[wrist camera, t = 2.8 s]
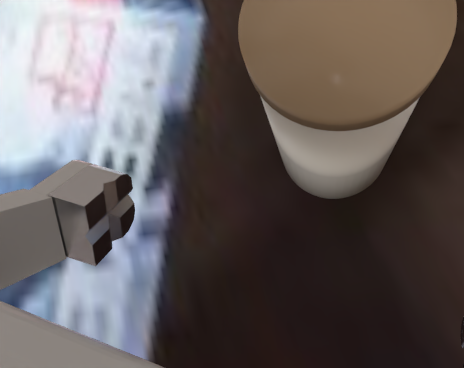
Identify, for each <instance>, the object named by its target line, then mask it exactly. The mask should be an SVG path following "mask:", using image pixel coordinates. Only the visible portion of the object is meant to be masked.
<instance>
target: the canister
mask: <svg viewBox="0 0 464 368" xmlns="http://www.w3.org/2000/svg"><path fill="white" fill-rule="evenodd" d="M456 23H457V5H456V0H244V2H243V4H242V8H241V12H240V16H239V25H238V37H239V44H240V50H241V53H242V56H243V59H244V62H245V65H246V67H247V70H248V73H249V76H250V78H251V81H252V83H253V84H254V86H255V88H256V90H257V91H258V93H259V94H260V97H261V99H262V102H263V105H264V108H265V111H266V114H267V117H268V120H269V122H270V125H271V128H272V131H273V134H274V137H275V140H276V143H277V146H278V148H279V151H280V154H281V157H282V160H283V163H284V166H285V169H286V171H287V172H288V174H289V176H290V177H291V179H292V180H293V181H294V182H295V183H296V184H297V185H298V186H299V187H300V188H302V189H303V190H305V191H306V192H308V193H310V194H312V195H315V196H318V197H322V198H329V199H338V198H345V197H350V196H353V195H355V194H357V193H359V192H362V191H363V190H365V189H366V188H368V187H369V186H370V185H371V184H372V183H373V182H374V181H375V180H376V179H377V178H378V176H379V175H380V173H381V171H382V169H383V167H384V166H385V164H386V162H387V160H388V158H389V156H390V154H391V152H392V150H393V148H394V146H395V144H396V142H397V140H398V139H399V137H400V135H401V133H402V131H403V129H404V127H405V125H406V123H407V121H408V119H409V117H410V115H411V113H412V112H413V110H414V108H415V106H416V104H417V102H418V100H419V98H420V96H421V95H422V94H423V93H424V92H425V91H426V90H427V88H428V87H429V85H430V84H431V82H432V81H433V79H434V78H435V76H436V74H437V72H438V71H439V69H440V67H441V65H442V63H443V61H444V59H445V57H446V55H447V53H448V51H449V49H450V47H451V45H452V41H453V38H454V35H455V30H456Z"/></svg>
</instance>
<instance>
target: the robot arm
mask: <svg viewBox="0 0 464 368" xmlns="http://www.w3.org/2000/svg"><path fill="white" fill-rule="evenodd" d="M132 189H133V187H132V180H131V177H130V176H129V175H127V174H125V173H122V172H119V171H115V170H112V169H108V168H105V167H102V166H98V165H95V164H94V165H93V164H91V163H87V162H84V161H80V160H72V161H71V162H69V163H68V164H66V165H65V166H63V167H62V168H60V169H59V170H58V171H56V172H55V173H53V174H52V175H50V176H49V177H48V178H46V179H45V180H43V181H42V182H40V183H39V184H37V185H36V186H35V187H33V188H32V189H30V190H26V189H21V190H17V191H13V192H9V193H5V194H1V195H0V290H1V289H3V288H5V287H7V286H9V285H12V284H14V283H16V282H18V281H20V280H22V279H24V278H26V277H28V276H30V275H33V274H35V273H37V272H39V271H41V270H43V269H45V268H47V267H49V266H51V265H54V264H56V263H58V262H60V261H62V260H64V259H66V257H69V258H72V259H75V260H78V261H81V262H85V263H88V264H91V265H94V266H96V265H97V264H98V263H99V262H100V261H101V260H102V259H103V258H104V257H105V256H106V255H107V254H108V252H109V251H110V250H111V249H112V241H114V240H117V239H120V238H122V237H123V236H124V235H125V234H126V233H127V232H128V231H129V229H130V227H131V225H132V222H133V220H134V214H135V207H134V202H133V201H132V199H131V198H130V196H129V195H128V194H129V193H130V192H131V190H132ZM461 346H462V347H463V348H464V317H463V321H462V325H461ZM463 367H464V364H463ZM0 368H164V367H162V366H159V365H157V364H154V363H152V362H149V361H147V360H144V359H142V358H139V357H137V356H135V355H132V354H130V353H127V352H125V351H122V350H120V349H117V348H115V347H112V346H110V345H107V344H105V343H103V342H100V341H98V340H95V339H93V338H90V337H88V336H85V335H83V334H80V333H78V332H75V331H73V330H70V329H68V328H66V327H63V326H61V325H58V324H56V323H53V322H51V321H48V320H46V319H43V318H41V317H38V316H36V315H33V314H31V313H29V312H26V311H24V310H21V309H19V308H16V307H14V306H11V305H9V304H6V303H4V302H1V301H0Z"/></svg>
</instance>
